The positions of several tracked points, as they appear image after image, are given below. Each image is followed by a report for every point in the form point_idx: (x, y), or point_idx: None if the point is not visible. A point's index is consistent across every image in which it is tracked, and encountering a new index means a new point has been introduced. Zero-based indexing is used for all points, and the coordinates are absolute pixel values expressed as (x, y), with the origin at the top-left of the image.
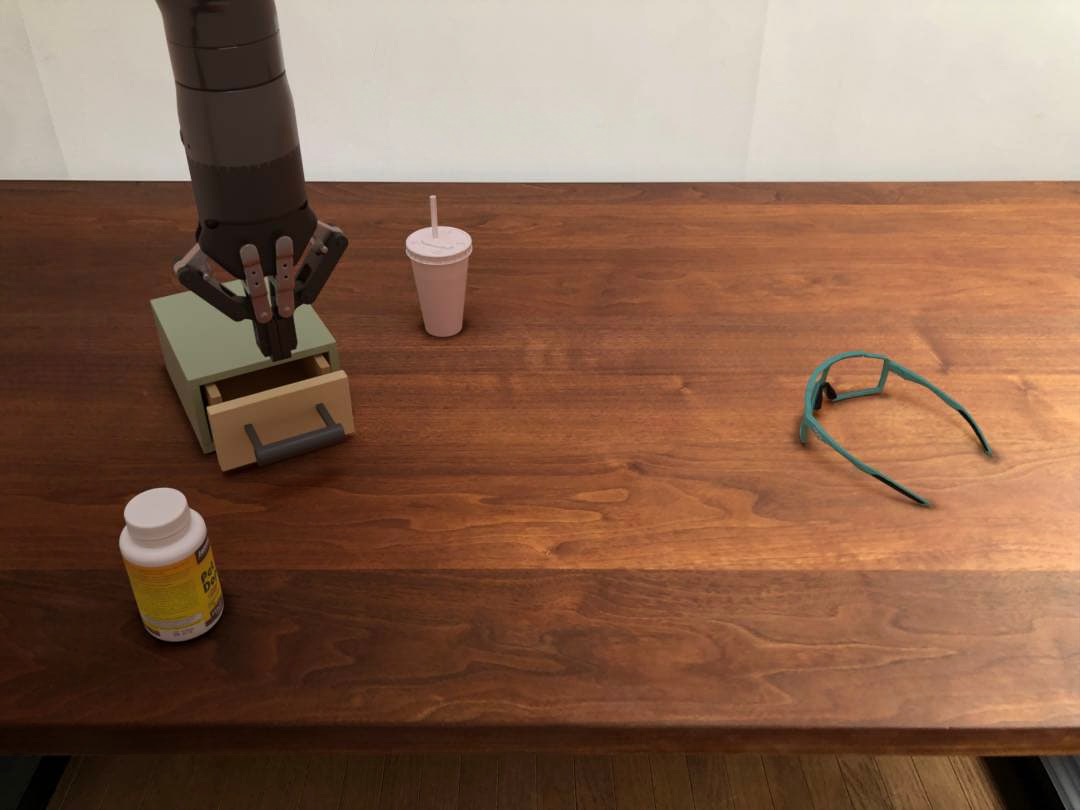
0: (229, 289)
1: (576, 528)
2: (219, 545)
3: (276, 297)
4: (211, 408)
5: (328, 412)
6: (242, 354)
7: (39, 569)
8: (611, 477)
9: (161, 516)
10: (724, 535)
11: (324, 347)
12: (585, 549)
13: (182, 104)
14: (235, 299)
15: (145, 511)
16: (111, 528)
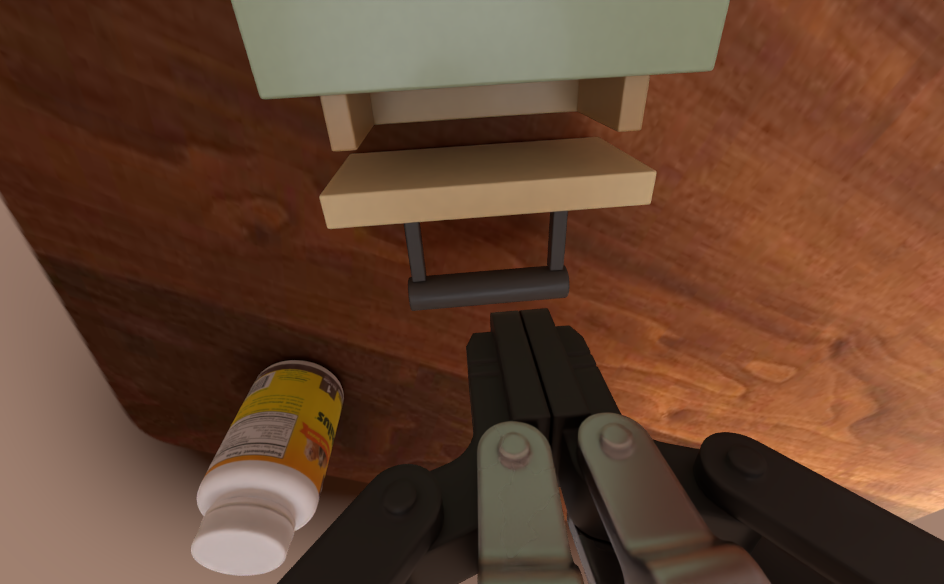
0: (403, 565)
1: (710, 399)
2: (343, 305)
3: (592, 577)
4: (331, 206)
5: (565, 230)
6: (437, 10)
7: (85, 266)
8: (803, 351)
9: (251, 568)
10: (803, 438)
11: (670, 73)
12: (695, 421)
13: None
14: (421, 579)
15: (225, 559)
16: (176, 220)
